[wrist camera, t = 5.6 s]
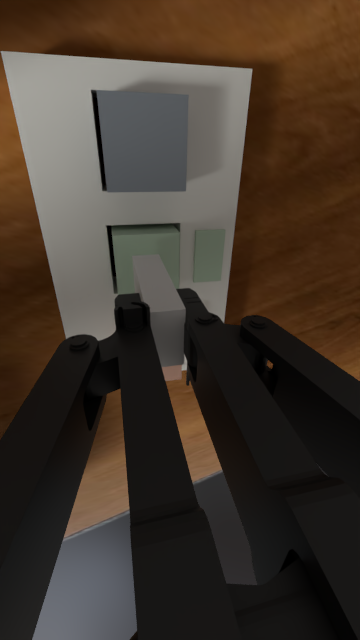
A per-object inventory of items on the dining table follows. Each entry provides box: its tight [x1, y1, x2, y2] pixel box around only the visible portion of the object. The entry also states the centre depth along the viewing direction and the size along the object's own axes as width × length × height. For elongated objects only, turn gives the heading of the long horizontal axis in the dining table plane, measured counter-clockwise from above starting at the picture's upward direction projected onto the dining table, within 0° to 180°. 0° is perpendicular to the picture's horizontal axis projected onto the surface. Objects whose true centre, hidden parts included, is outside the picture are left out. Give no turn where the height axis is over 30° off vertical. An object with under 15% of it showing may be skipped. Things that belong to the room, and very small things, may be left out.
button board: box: [1, 51, 252, 370], centre depth 20 cm, size 20×12×3 cm, turn 179°
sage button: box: [111, 223, 180, 295], centre depth 20 cm, size 4×4×3 cm
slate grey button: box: [96, 90, 189, 192], centre depth 15 cm, size 4×4×3 cm
